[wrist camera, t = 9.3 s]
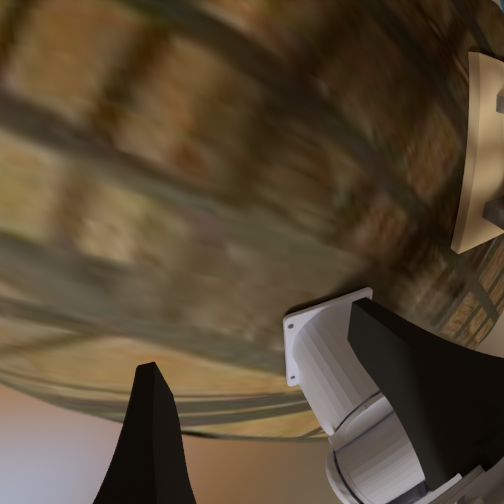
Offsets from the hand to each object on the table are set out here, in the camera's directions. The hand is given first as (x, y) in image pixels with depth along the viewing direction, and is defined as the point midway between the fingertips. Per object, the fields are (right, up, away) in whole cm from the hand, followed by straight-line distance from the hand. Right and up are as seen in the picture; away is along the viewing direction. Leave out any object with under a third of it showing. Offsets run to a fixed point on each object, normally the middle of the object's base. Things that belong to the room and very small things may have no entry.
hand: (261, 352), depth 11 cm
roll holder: (+24, +13, +12) cm, 31 cm away
